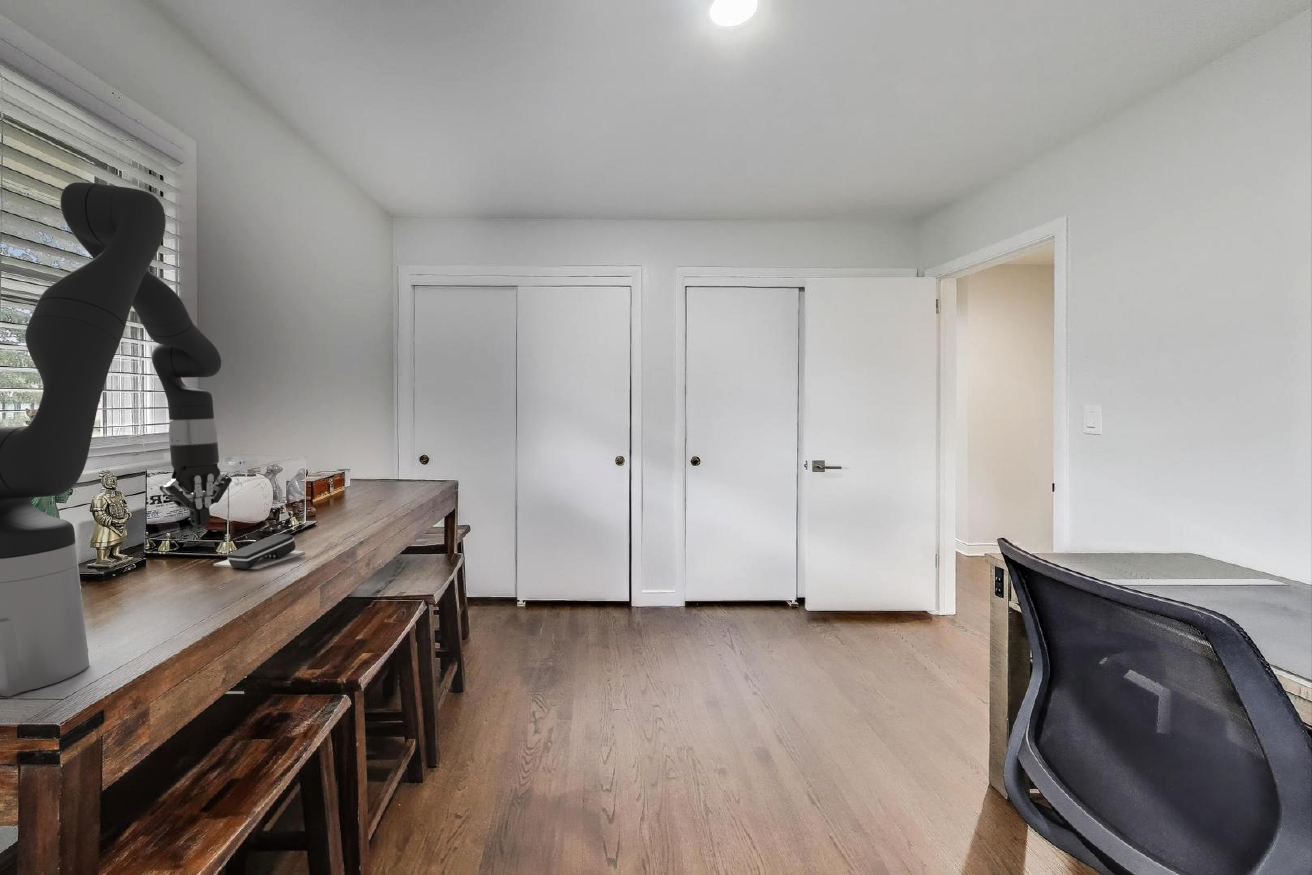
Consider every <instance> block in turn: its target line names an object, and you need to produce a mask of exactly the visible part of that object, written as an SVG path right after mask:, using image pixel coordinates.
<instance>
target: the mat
mask: <svg viewBox="0 0 1312 875" xmlns="http://www.w3.org/2000/svg"><path fill="white" fill-rule="evenodd" d="M304 554H306V551H302V550H294V551H292V552H291V553H289V554H287V555H285V556H283V557H281V558H279V559H270V558H260V559H259V560H258V561H256V562H255V564H254V565H253V566H252V567H251V568H249V569H248V570H256V569H257V570H260V569H263V568H264V567H265V568H267V567H269V566H271V565H274V564H277V563H280V562H283V561H286V560H289V559H292V558H295V557H298V556H301V555H304ZM268 565H269V566H268ZM213 567H218V568H231V569H235V568H234V567H232V566H231V564H230V562H229V559H228V558H227V559H225V560H221V561H219V562H216V563H213Z"/></svg>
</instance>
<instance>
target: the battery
mask: <svg viewBox="0 0 1312 875" xmlns="http://www.w3.org/2000/svg"><path fill="white" fill-rule="evenodd" d="M295 542H296V541H295V537H294V536H293V535H292V534H283V533H280V534H279V533H278V534H273V535H271V536H268V537H265V538H262V539H261V540H258V541H256V542H254V543H252V544H249V545H247V546H245V547H243V548H242V547H241V548H239V549H237V550H235V551H233V552H230V553H228V554H227V555H226V556H227V560H228V559H229V562H230V564H231V566H232V567H234V568H233V569H244V570H250V569H249V568H251V567H252V566H253V565H254V564H255V562H256V561H258V560H259V559H260V558H270V559H279V558H281V557H283V556H285V555H287V554H289V553H291V552H292V551H296V543H295Z"/></svg>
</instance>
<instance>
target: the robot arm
mask: <svg viewBox="0 0 1312 875" xmlns="http://www.w3.org/2000/svg"><path fill="white" fill-rule="evenodd" d="M59 203H60V210H61V214H62V215H63V216H62V217H63V219H64V221H65V223H66V225H67V227H68V228H69V230H70V232H71V233H72V234H73V235H74V237H75V238H76V239H77V241H78V242H79V243H80V245H82V247H83V248H84V249H85V251H86V252H87V253H88V254H89V255H90V257H92V259H91V260H90V261H88V262H87V263H85V264H83V265H82V266H80V267H78V268H76V269H75V270H72V271H71V272H70V273H68V274H66V275H64V276H62V277H61V278H60V279H58V280H56V281H55V282H54V283H53V284H51V285H49V287H47V288H46V289H45V290H44V292H43V293H42V294H41V295H40V297H39V299H38V301H37V303H36V305H35V307H34V309H33V311H32V314H31V316H30V319H29V321H28V323H27V326H26V329H25V334H24V336H25V337H24V338H25V339H24V340H25V345H26V349H27V351H28V353H29V356H30V357H31V360H32V362H33V364H34V366H35V368H36V370H37V371H38V374H39V376H40V379H41V381H42V389H43V391H42V395H41V399H40V401H39V404H38V405H39V406H38V408H37V411H36V413H35V415H34V417H33V420H31V422H30V424H28V425H17V426H16V425H14V426H13V425H12V426H11V425H8V426H0V697H2V696H3V697H12V696H15V695H17V694H20V693H24V692H28V691H32V690H36V689H41V688H43V687H46V686H50V685H53V684H56V683H59V682H61V681H64V680H68V679H69V678H72V677H74V676H75V675H78V674H79V673H81V672H83V671H84V670H86V669H87V668H88V667H89V665H90V660H89V648H88V640H87V631H86V624H85V622H86V621H85V615H84V614H85V613H84V605H83V596H82V595H83V594H82V587H81V577H80V568H79V558H78V550H77V549H78V548H77V540H76V535H75V534H76V533H75V527H74V525H73V524H72V523H71V522H70V521H68V520H66V519H63V518H59V517H55V516H53V515H50V514H47V513H45V512H43V511H42V510H40V509H39V508H37V507H36V506H35V505H34V504H33V501H32V499H31V498H46V497H55V496H58V495H62V494H64V493H66V492H68V491H69V490H71V489H73V487H74V486H75V485H76V484H77V483H78V481H79V479H80V478H81V476H82V474H83V472H84V470H85V467H86V464H87V460H88V456H89V452H90V447H91V443H92V438H93V434H94V428H95V423H96V417H97V413H98V408H99V404H100V400H101V397H102V394H103V390H104V387H105V384H106V380H107V379H108V378H107V377H108V374H109V372H110V369H111V365H112V363H113V360H114V357H115V355H116V354H117V351H118V348H119V346H120V343H121V340H122V337H123V334H124V332H125V329H126V325H127V322H128V318H129V314H130V312H131V309H132V308H133V310H134V312H135V314H136V315H137V317H138V319H139V321H140V322H141V324H142V326H143V327H144V329H145V331H146V333H147V334H148V337H150V339H151V340H152V341H153V342H155V343H157V345H155V346H154V348H153V350H152V353H151V363H152V365H153V367H154V371H155V372H156V374H157V376H158V378H159V380H160V384H161V386H162V388H163V391H164V393H165V396H166V397H165V398H166V400H167V406H168V407H167V408H168V409H167V411H168V418H169V420H168V421H169V423H168V425H169V426H168V438H169V439H168V441H169V453H170V461H171V462H170V463H171V466H172V468H173V472H172V473H171V480H170V481H169V482H167V484H162V485H160V486H159V491H160V492H162V493H163V494H164V495H165V496H166V497H167V498H168V499H169V500H170V501H172V502H173V503H174V504H175V505H176V506H177V507H178V508H184V509H188V511H189V518H190V524H191V525H192V526H193V527H194V528H197V529H198V528H204V527H207V526H209V523H210V522H211V514H210V513H211V512H210V507H211V505H213V504H217V503H219V502H220V500H221V499H222V497H223V496H224V494H225V493H226V490H227V489H228V488H229V486H230V485H231V483H232V477H230V476H225V475H223V474H221V469H220V467H219V466H218V463H219V462H220V457H219V444H218V432H217V431H218V430H217V427H216V422H215V416H214V414H215V413H214V402H213V396H212V394H211V392H210V391H208V390H204V389H197V388H192V387H188V386H187V385H186V384H185V383H184V382H183V380H182V378H187V379H188V378H209V377H213V376H215V375H217V374H218V373H219V372H220V369H221V367H222V359H221V355H220V353H219V351H218V349H217V348H216V347H215V345H214V344H213V343H212V341H211V340H210V339H208V338H207V336H206V335H205V334H204V333H202V332H201V330H200V328H198V327H197V326H196V325H195V324H194V323H193V321H192V319H191V317H190V315H189V311H188V310H187V308H186V306H185V304H184V302H183V301H182V299H181V298H180V296H179V295H178V294H177V293H176V292H175V291H174V290H173V289H172V287H170V286H169V285H168V284H167V283H165V282H164V281H163V280H162V279H160V278H159V277H157V275H155V274H154V273H152V272H151V271H150V270H149V267H150V266H151V264H152V261H153V260H154V258H156V257H155V256H156V254H157V252H158V251H159V250H160V249H159V248H160V246H161V244H162V242H163V239H164V236H165V232H166V226H167V225H166V220H167V219H166V213H165V208H164V207H163V204H162V202H161V201H160V200H159V199H158V198H157V197H156V196H155V195H154V194H152V193H150V192H148V191H145V190H143V189H137V188H133V187H126V186H118V185H111V184H110V185H109V184H101V183H92V182H77V181H76V182H72V183H69V184H68V185H67V186H65V187H64V188H63V190H62V192H61V195H60V202H59ZM180 490H182V491H180Z"/></svg>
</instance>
